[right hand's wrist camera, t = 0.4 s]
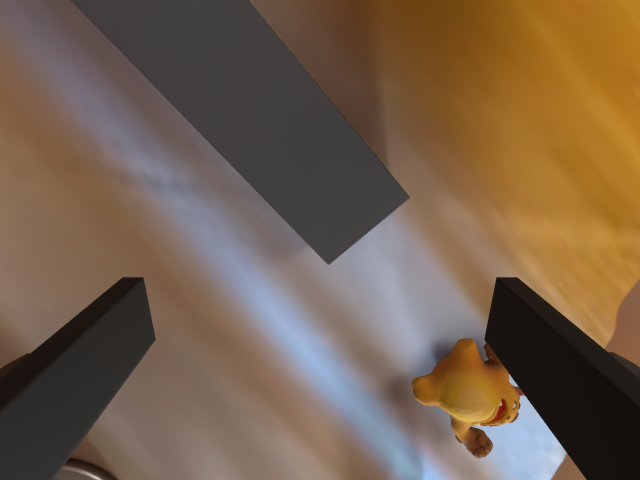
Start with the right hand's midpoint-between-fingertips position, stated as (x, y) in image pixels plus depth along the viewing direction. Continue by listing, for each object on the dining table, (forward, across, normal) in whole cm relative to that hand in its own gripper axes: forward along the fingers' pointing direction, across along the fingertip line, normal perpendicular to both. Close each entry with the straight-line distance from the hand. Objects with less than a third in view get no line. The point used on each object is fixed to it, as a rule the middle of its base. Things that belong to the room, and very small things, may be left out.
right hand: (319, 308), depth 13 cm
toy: (+22, -18, +24) cm, 37 cm away
